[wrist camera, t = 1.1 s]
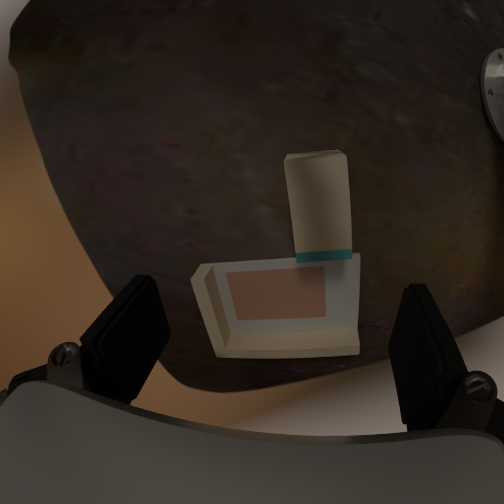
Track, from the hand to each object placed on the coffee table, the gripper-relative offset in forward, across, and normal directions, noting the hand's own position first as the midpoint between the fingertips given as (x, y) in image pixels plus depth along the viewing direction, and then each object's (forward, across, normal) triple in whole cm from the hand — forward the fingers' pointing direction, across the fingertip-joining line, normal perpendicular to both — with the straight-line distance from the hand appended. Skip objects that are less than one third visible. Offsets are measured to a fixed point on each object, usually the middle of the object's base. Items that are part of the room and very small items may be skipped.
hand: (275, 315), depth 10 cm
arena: (+19, +2, +14) cm, 24 cm away
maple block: (+19, -2, +1) cm, 20 cm away
